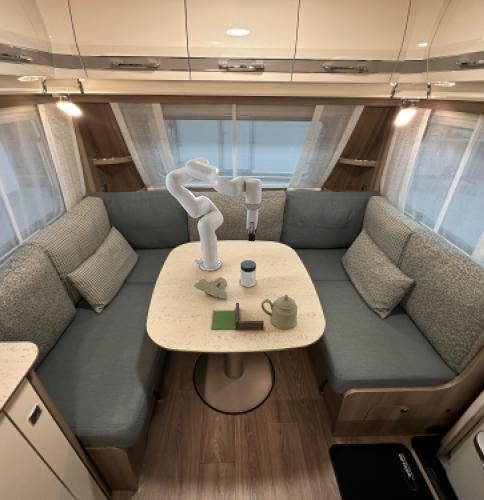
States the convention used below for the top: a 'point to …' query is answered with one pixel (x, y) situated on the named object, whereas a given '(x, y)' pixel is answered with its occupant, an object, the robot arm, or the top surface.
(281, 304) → the sugar bowl
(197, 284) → the khaki irregular lump
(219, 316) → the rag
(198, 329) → the top surface
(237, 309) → the corner rail
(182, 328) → the top surface
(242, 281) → the jar
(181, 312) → the top surface
